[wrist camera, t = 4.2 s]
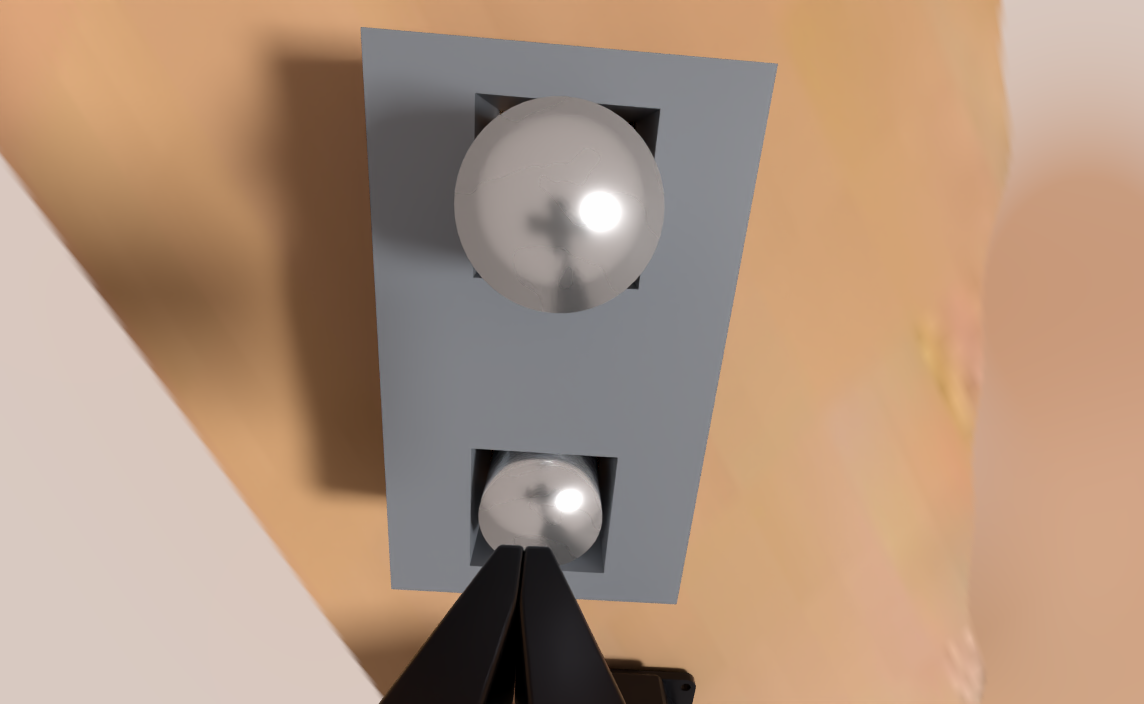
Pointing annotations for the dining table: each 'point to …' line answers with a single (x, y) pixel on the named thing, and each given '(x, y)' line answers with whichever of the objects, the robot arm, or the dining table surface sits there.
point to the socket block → (551, 340)
